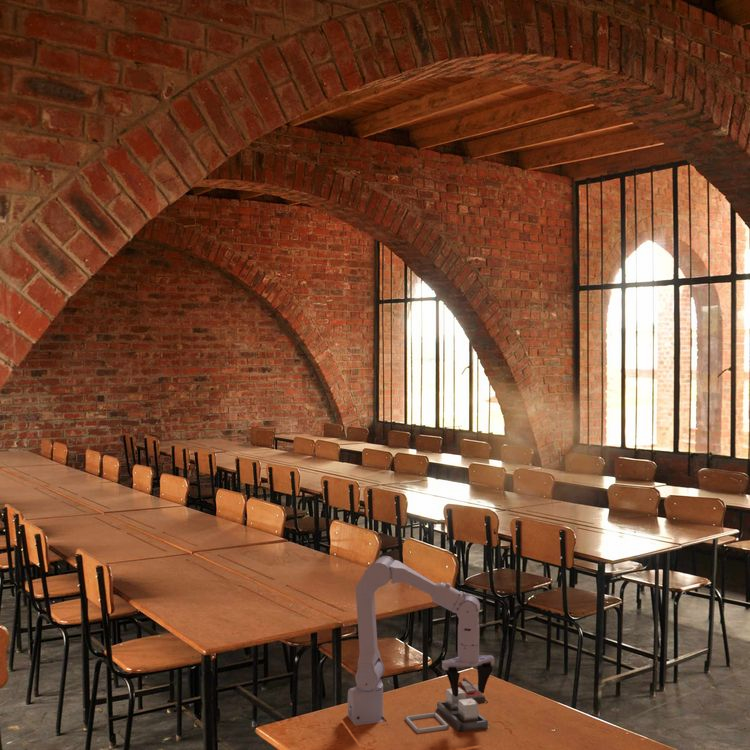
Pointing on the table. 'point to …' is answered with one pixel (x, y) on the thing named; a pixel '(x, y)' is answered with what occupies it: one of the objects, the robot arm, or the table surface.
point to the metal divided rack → (453, 720)
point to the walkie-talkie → (471, 691)
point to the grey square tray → (444, 726)
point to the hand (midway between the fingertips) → (468, 693)
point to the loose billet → (467, 710)
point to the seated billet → (454, 699)
